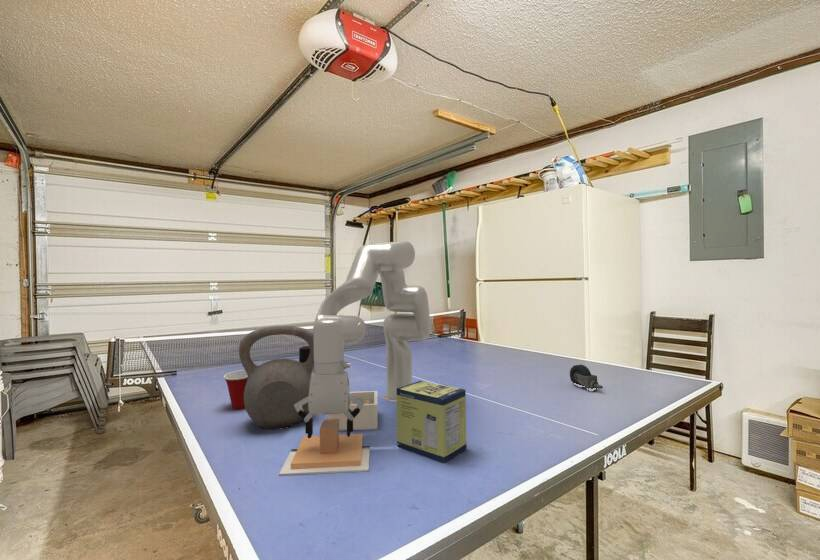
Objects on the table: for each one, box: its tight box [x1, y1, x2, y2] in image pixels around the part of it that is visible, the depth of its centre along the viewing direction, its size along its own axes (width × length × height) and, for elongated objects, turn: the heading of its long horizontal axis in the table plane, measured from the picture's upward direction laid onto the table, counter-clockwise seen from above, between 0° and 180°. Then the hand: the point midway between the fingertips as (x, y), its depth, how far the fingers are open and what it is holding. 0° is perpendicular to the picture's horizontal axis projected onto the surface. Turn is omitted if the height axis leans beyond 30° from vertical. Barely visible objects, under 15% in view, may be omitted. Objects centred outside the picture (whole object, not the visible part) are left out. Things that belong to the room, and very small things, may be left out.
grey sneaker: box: [569, 364, 604, 390], centre depth 154 cm, size 6×10×15 cm
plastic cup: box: [223, 369, 248, 410], centre depth 136 cm, size 11×11×12 cm
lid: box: [291, 418, 364, 469], centre depth 98 cm, size 16×16×7 cm
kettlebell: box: [238, 325, 314, 430], centre depth 120 cm, size 24×17×30 cm
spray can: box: [298, 345, 314, 372], centre depth 141 cm, size 7×7×20 cm
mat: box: [278, 445, 371, 477], centre depth 98 cm, size 20×20×1 cm
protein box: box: [396, 380, 468, 464], centre depth 101 cm, size 10×16×16 cm
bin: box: [327, 390, 379, 431], centre depth 118 cm, size 14×14×8 cm
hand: (329, 435), depth 98 cm, fingers open, 9 cm apart
